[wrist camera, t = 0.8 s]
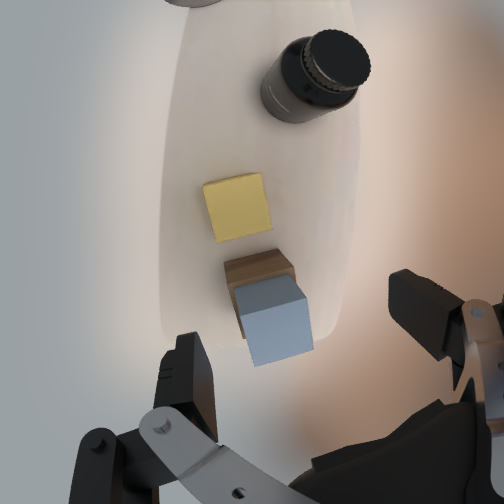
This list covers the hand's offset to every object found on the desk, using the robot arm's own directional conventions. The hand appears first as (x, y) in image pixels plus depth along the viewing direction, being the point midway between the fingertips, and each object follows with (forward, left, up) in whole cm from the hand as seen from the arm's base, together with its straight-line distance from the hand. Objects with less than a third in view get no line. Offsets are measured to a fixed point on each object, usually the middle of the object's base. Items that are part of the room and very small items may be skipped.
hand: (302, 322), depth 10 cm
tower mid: (+6, 0, -14) cm, 15 cm away
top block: (-3, 0, -20) cm, 20 cm away
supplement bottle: (-13, +8, -20) cm, 25 cm away
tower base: (+6, 0, -20) cm, 21 cm away
